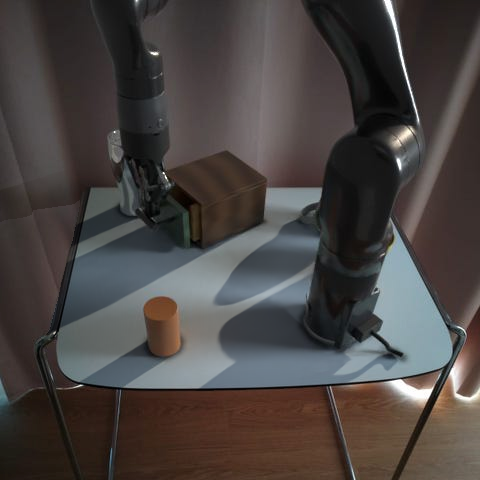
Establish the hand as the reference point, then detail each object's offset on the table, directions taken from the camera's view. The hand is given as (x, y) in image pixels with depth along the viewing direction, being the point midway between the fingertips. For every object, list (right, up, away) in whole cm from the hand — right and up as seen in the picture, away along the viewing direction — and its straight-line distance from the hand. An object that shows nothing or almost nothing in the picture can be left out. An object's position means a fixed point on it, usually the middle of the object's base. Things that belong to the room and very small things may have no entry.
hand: (153, 214), depth 87 cm
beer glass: (-6, +4, +12) cm, 14 cm away
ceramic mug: (+32, 0, +10) cm, 34 cm away
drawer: (+5, -1, +7) cm, 9 cm away
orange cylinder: (+4, -22, -12) cm, 26 cm away
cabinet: (+10, +1, +10) cm, 15 cm away
